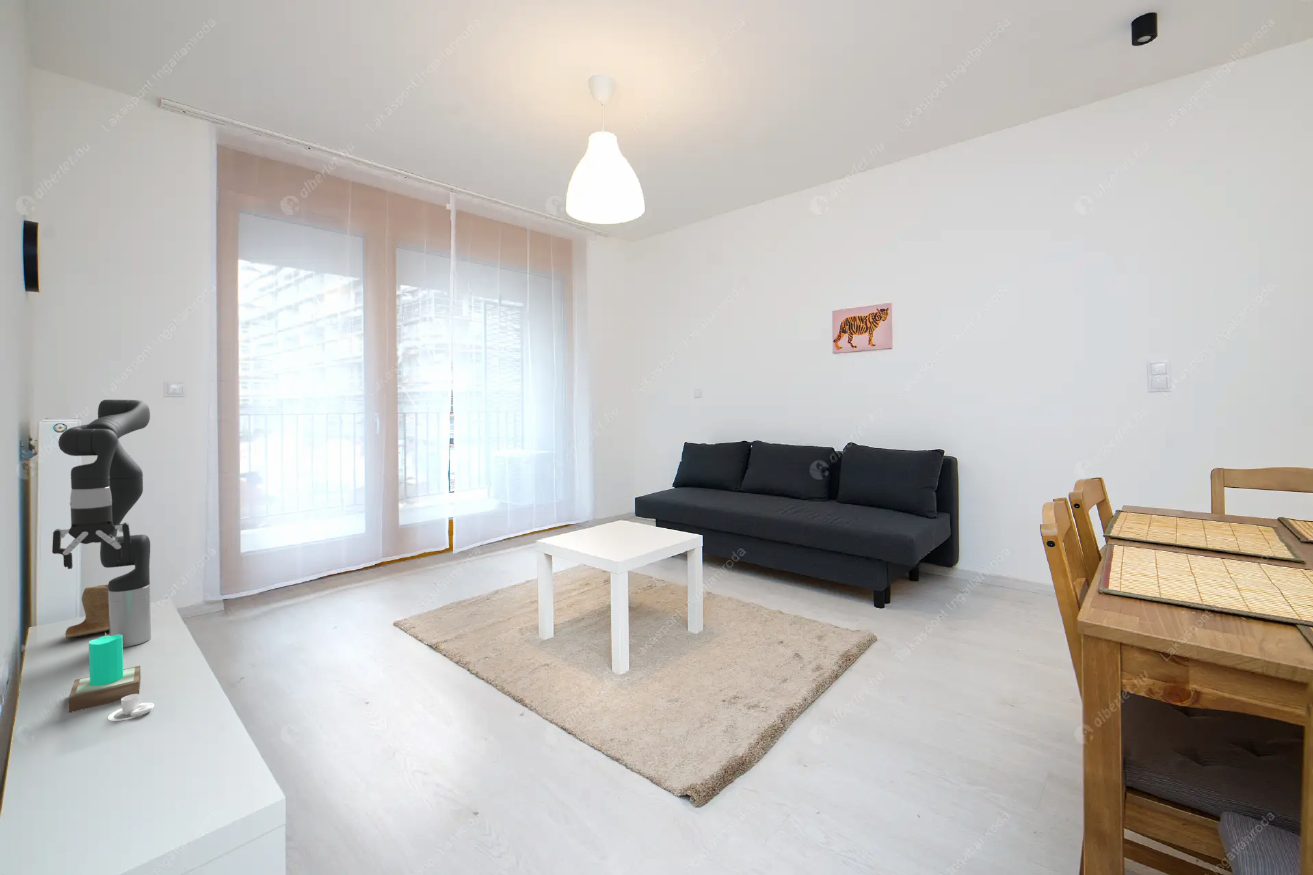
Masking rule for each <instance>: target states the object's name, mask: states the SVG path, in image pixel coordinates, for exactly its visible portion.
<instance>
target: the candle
mask: <svg viewBox="0 0 1313 875" xmlns="http://www.w3.org/2000/svg"><path fill="white" fill-rule="evenodd" d="M104 634H105V635H103V636H101V637H98V638H96V639H92V640H89V641H88V660H89V661H88V663H89V664H88V665H89V677H90V685H93V686H97V685H104V684H109V683H112V682H115V681H118V680H119V679H121V678H123V669H124V652H123V651H124V649H123V648H124V647H123V640H122V635H120V634H118V635H114V636H110V635H107V633H106V632H104Z"/></svg>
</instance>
